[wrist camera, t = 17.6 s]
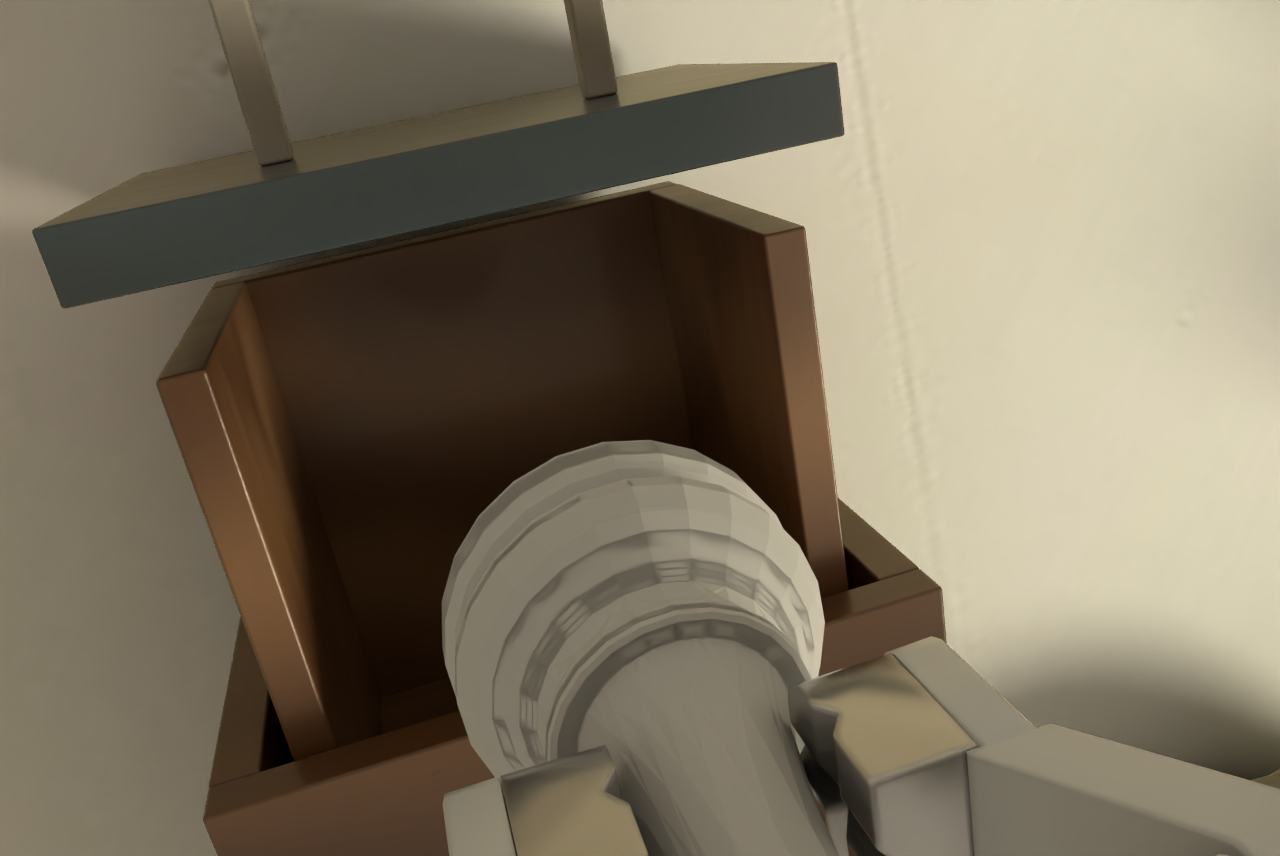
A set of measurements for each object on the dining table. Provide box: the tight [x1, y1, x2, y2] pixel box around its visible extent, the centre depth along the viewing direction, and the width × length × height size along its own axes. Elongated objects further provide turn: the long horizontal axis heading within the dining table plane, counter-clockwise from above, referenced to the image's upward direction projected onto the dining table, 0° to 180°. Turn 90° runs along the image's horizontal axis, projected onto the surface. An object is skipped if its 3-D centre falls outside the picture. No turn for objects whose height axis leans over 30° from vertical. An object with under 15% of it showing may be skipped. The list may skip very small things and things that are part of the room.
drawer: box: [32, 0, 849, 761], centre depth 22 cm, size 20×13×9 cm, turn 10°
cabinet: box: [203, 498, 947, 856], centre depth 27 cm, size 16×14×11 cm
